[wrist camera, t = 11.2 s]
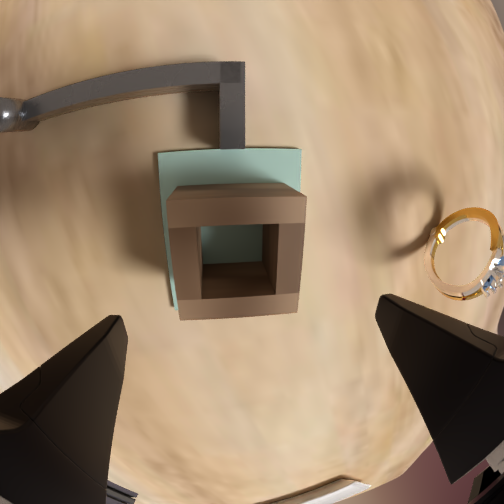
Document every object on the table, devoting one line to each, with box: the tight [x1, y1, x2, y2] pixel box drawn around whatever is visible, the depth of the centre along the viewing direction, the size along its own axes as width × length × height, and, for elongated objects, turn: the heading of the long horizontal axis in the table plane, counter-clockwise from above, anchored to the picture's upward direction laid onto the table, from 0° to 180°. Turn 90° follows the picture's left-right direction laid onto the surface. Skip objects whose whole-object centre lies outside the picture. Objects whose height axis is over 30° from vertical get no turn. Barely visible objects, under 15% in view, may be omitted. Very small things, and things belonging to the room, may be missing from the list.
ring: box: [424, 207, 504, 300], centre depth 15 cm, size 7×3×8 cm, turn 141°
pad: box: [158, 148, 301, 310], centre depth 16 cm, size 8×10×1 cm
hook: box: [0, 62, 245, 150], centre depth 11 cm, size 15×5×4 cm, turn 90°
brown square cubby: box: [166, 183, 307, 320], centre depth 14 cm, size 6×6×4 cm
